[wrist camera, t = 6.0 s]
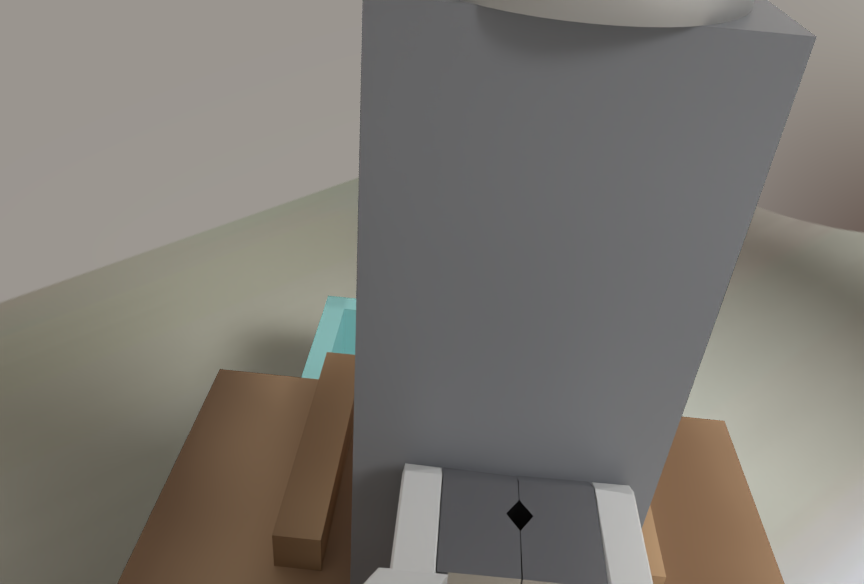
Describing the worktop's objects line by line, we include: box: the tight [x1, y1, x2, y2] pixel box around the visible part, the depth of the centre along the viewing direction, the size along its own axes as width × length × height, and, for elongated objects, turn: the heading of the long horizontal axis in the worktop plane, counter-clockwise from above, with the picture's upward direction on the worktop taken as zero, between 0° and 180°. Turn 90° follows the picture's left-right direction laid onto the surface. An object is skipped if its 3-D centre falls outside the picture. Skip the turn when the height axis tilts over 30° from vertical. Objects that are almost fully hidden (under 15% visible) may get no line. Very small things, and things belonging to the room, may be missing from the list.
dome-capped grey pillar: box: [350, 0, 816, 584], centre depth 11 cm, size 4×4×13 cm
